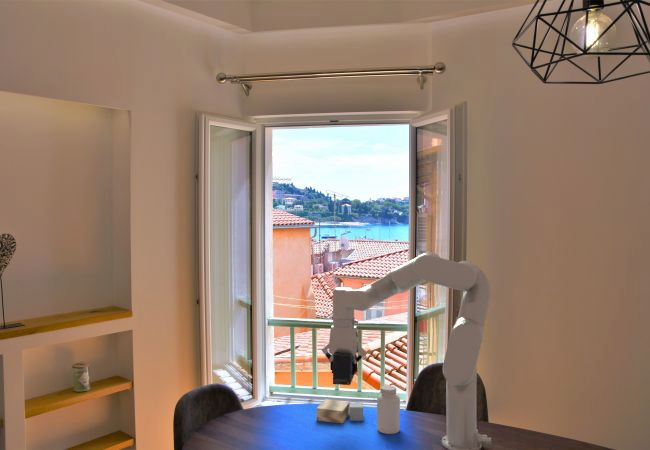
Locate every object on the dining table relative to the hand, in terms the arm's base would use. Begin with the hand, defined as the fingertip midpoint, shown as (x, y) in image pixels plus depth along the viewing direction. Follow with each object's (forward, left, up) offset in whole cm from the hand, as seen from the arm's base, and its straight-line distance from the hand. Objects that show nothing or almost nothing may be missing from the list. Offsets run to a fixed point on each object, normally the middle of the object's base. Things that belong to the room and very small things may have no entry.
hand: (343, 372), depth 181 cm
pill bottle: (-15, -3, -20) cm, 25 cm away
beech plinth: (+7, -9, -20) cm, 23 cm away
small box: (0, 0, -3) cm, 3 cm away
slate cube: (-2, -11, -20) cm, 23 cm away
